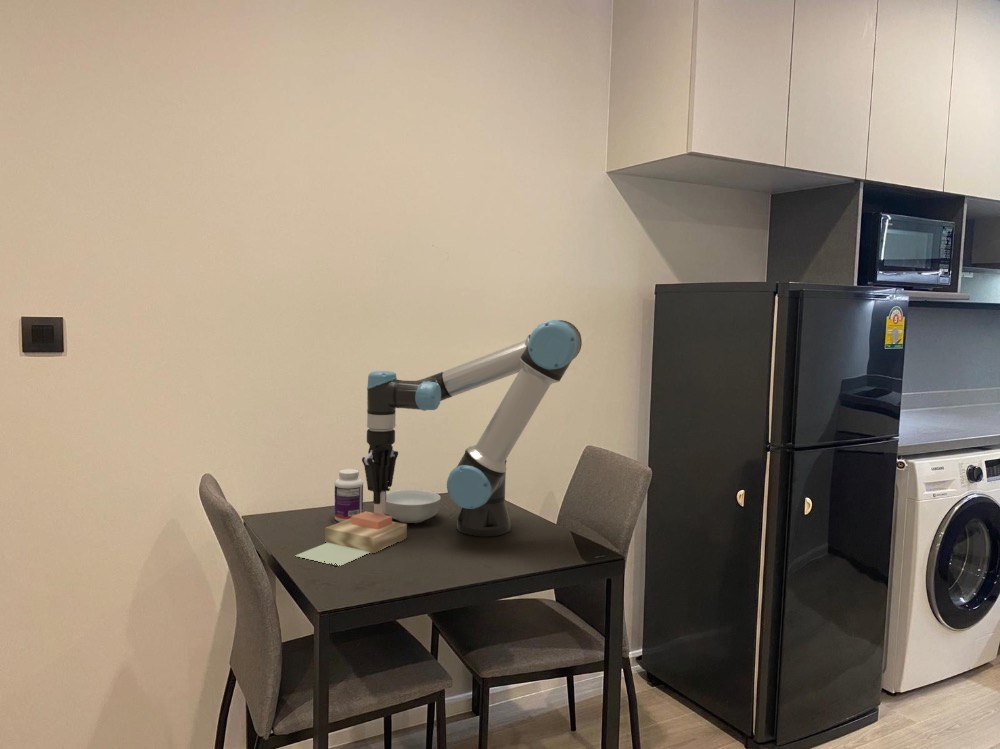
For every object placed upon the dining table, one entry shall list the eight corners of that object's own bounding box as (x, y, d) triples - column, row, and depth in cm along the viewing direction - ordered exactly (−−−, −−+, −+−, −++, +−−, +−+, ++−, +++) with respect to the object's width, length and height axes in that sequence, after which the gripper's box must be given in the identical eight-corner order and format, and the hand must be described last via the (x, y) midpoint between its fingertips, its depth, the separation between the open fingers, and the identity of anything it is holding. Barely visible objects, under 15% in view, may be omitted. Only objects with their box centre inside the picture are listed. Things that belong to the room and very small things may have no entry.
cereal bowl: (385, 530, 201) (386, 505, 200) (378, 513, 217) (378, 490, 216) (445, 526, 206) (446, 502, 205) (434, 510, 222) (434, 487, 221)
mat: (370, 553, 182) (370, 552, 182) (338, 567, 172) (338, 566, 172) (327, 543, 189) (327, 542, 189) (294, 556, 178) (294, 555, 178)
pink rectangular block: (392, 523, 194) (392, 516, 194) (378, 529, 189) (378, 522, 188) (365, 518, 198) (365, 511, 198) (351, 523, 193) (351, 516, 193)
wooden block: (406, 538, 194) (406, 524, 194) (373, 553, 182) (374, 538, 181) (359, 528, 202) (359, 514, 201) (325, 542, 189) (325, 527, 189)
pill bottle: (344, 514, 215) (344, 466, 214) (367, 517, 212) (368, 469, 211) (329, 522, 207) (329, 472, 206) (353, 525, 205) (353, 475, 203)
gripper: (385, 424, 202) (383, 506, 204) (354, 430, 190) (352, 518, 193) (406, 427, 198) (405, 511, 200) (376, 433, 187) (375, 522, 189)
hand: (379, 514), depth 197 cm, fingers closed
